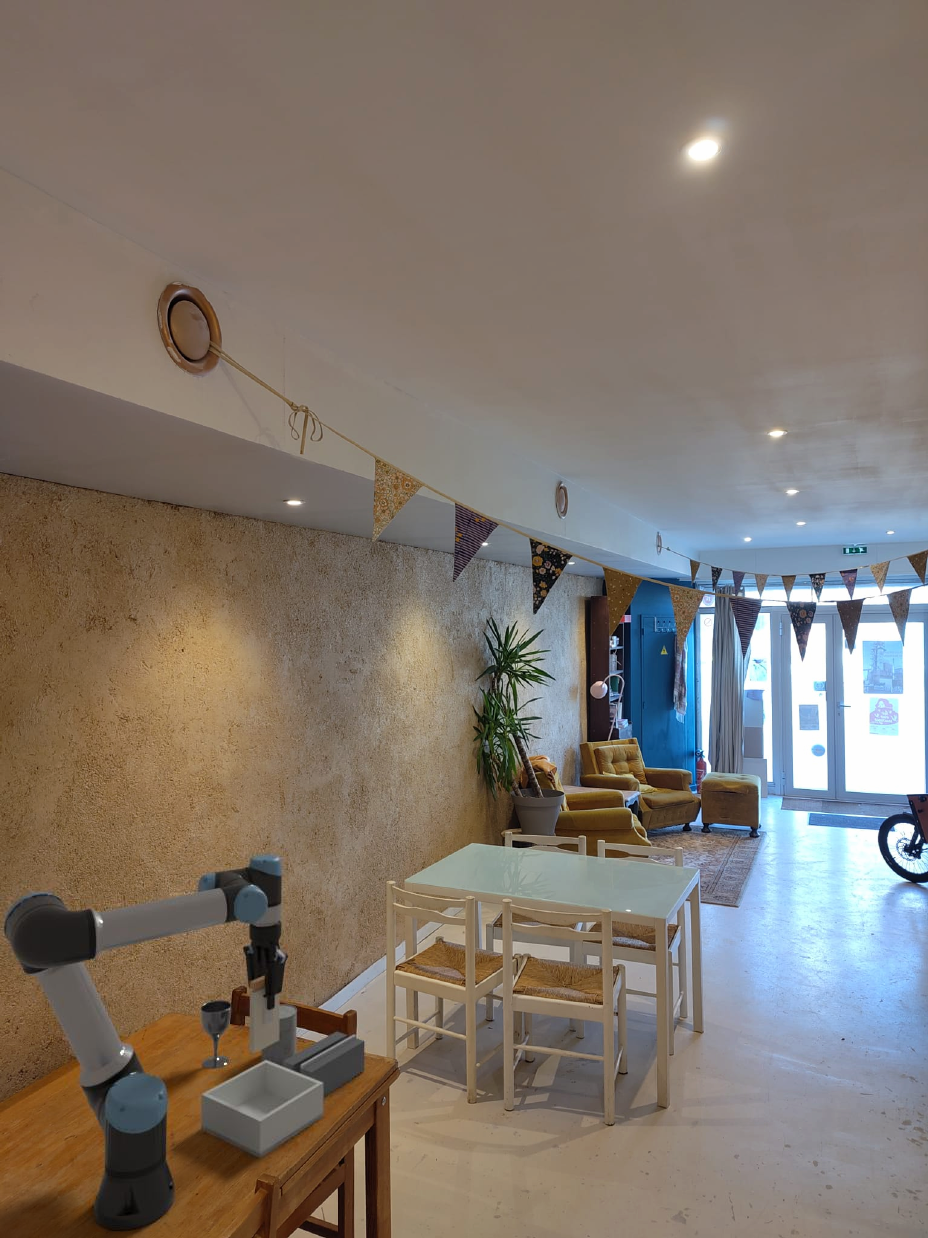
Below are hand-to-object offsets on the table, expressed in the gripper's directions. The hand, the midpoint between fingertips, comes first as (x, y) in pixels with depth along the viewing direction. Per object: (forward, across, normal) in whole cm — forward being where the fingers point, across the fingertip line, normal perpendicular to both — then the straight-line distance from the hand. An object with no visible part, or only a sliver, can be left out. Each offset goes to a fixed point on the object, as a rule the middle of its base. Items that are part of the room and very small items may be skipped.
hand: (264, 1021), depth 199 cm
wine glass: (+24, +33, -13) cm, 43 cm away
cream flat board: (+6, 0, 0) cm, 6 cm away
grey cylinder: (+24, +21, -25) cm, 40 cm away
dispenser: (+24, +1, -22) cm, 32 cm away
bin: (+24, 0, 0) cm, 24 cm away
